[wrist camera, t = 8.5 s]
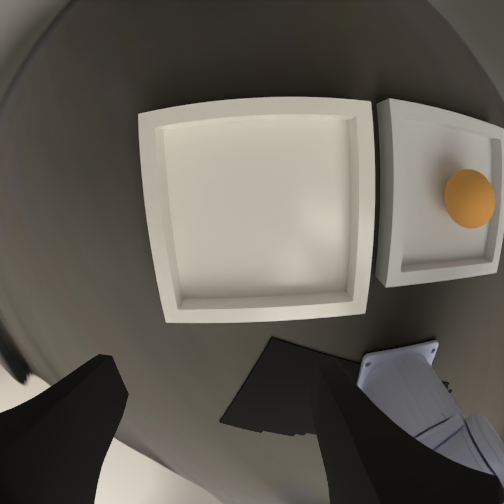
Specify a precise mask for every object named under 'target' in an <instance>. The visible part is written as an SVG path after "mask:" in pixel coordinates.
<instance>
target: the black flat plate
mask: <svg viewBox="0 0 504 504" xmlns="http://www.w3.org/2000/svg"><path fill="white" fill-rule="evenodd" d="M326 357H334V358H335V359H336V360H337V361H338V362H339V364H340V365H341V366H342V367H343V369H344V370H345V371H346V372H347V374H348V375H349V376H350V377H351V378H352V380H353V381H354V382H355V383H356V384H357V380H358V376H359V372H360V368H361V364H360V363H357V362H353V361H349V360H346V359H342V358H338V357H335V356H331V355H328V354H324V353H321V352H318V351H314V350H311V349H308V348H305V347H301V346H298V345H295V344H292V343H289V342H286V341H283V340H280V339H277V338H274V337H272V338H271V340H270V341H269V343H268V345H267V347H266V348H265V350H264V352H263V353H262V355H261V357H260V358H259V360H258V362H257V363H256V365H255V367H254V368H253V370H252V372H251V373H250V375H249V376H248V378H247V380H246V381H245V383H244V385H243V386H242V388H241V389H240V391H239V392H238V394H237V396H236V397H235V399H234V400H233V402H232V403H231V405H230V406H229V408H228V410H227V411H226V413H225V414H224V416H223V417H222V419H221V420H220V423H223V424H227V425H231V426H234V427H238V428H242V429H246V430H251V431H255V432H260V433H262V431H268V432H273V433H278V434H283V435H289V436H294V435H295V434H299V435H305V434H306V433H310V434H316V430H315V426H314V420H313V413H312V404H311V393H312V385H313V376H314V366H315V359H317V358H326ZM442 383H443V384H444V386H445V387H446V389H447V388H448V384H449V383H446V382H442ZM448 392H449V393H451V392H452V390H449V391H448Z"/></svg>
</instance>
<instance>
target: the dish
mask: <svg viewBox="0 0 504 504" xmlns="http://www.w3.org/2000/svg"><path fill="white" fill-rule="evenodd" d="M138 126H139V146H140V161H141V173H142V183H143V193H144V202H145V210H146V218H147V225H148V232H149V238H150V245H151V251H152V257H153V262H154V268H155V273H156V279H157V284H158V289H159V293H160V298H161V303H162V307H163V312H164V316H165V320H166V323H235V322H264V321H284V320H299V319H313V318H325V317H336V316H346V315H356V314H365V313H366V306H367V298H368V291H369V282H370V273H371V263H372V251H373V236H374V216H375V151H374V131H373V118H372V106H371V101H362V100H352V99H339V98H322V97H261V98H244V99H231V100H220V101H211V102H203V103H195V104H188V105H182V106H176V107H170V108H165V109H159V110H154V111H149V112H145V113H140V114H138Z"/></svg>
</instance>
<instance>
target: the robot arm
mask: <svg viewBox="0 0 504 504" xmlns="http://www.w3.org/2000/svg"><path fill="white" fill-rule="evenodd" d="M438 345H439V343H438V341H437V340H433V341H429V342H425V343H420V344H416V345H411V346H406V347H401V348H396V349H391V350H385V351H379V352H373V353H368V354H366V355H365V356H364V357H363V359H362V363H361V368H360V372H359V376H358V380H357V384H356V383H355V382H354V381H353V380H352V378H351V377H350V376H349V375H348V374H347V372H346V371H345V370H344V369H343V367H342V366H341V365H340V364H339V362H338V361H337V360H336V359H335V358H334V357H326V358H317V359H315V366H314V376H313V385H312V393H311V404H312V413H313V420H314V426H315V430H316V434H317V438H318V442H319V446H320V450H321V454H322V459H323V463H324V467H325V471H326V475H327V481H328V487H329V497H330V504H504V444H503V442H502V440H501V439H500V437H499V435H498V434H497V432H496V431H495V429H494V428H493V427H492V425H491V424H490V423H489V421H488V420H487V419H486V418H485V417H484V416H483V415H482V414H476V415H475V414H471V415H470V416H469V417H468V418H466V417H464V416H463V414H462V412H461V411H460V409H459V407H458V406H457V404H456V403H455V401H454V400H453V398H452V397H451V395H450V393H449V392H448V390H447V389H446V387H445V386H444V384H443V383H442V381H441V380H440V378H439V377H438V376H437V374H436V373H435V371H434V370H433V368H432V367H431V364H432V362H433V359H434V356H435V354H436V351H437V348H438ZM368 362H369V363H368ZM366 363H367V364H366ZM128 394H129V393H128V391H127V389H126V387H125V385H124V383H123V380H122V378H121V376H120V374H119V371H118V369H117V367H116V364H115V362H114V359H113V357H112V356H109V355H102V354H99V355H97V356H95V357H94V358H92V359H91V360H89V361H87V362H86V363H85V364H83V365H82V366H80V367H79V368H77V369H76V370H75V371H73V372H72V373H70V374H69V375H67V376H66V377H65V378H63V379H62V380H60V381H59V382H57V383H56V384H54V385H53V386H51V387H50V388H48V389H47V390H45V391H43V392H42V393H40V394H39V395H37V396H35V397H34V398H32V399H30V400H28V401H27V402H24V403H22V404H21V405H18V406H16V407H14V408H12V409H9V410H6V411H4V412H1V413H0V504H94V500H95V494H96V489H97V484H98V479H99V475H100V471H101V467H102V464H103V461H104V458H105V456H106V453H107V451H108V449H109V446H110V444H111V442H112V439H113V437H114V435H115V433H116V430H117V428H118V426H119V423H120V421H121V418H122V416H123V413H124V409H125V406H126V402H127V398H128Z"/></svg>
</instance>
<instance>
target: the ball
mask: <svg viewBox="0 0 504 504" xmlns="http://www.w3.org/2000/svg"><path fill="white" fill-rule="evenodd" d="M444 201H445V206H446V209H447V211H448V213H449V215H450V216H451V218H452V219H453V220H454V221H455V222H456V223H457V224H459V225H460V226H462V227H465V228H470V229H474V228H478V227H481V226H483V225H484V224H486V223H487V222H488V221H489V219H490V218H491V216H492V214H493V212H494V208H495V195H494V191H493V188H492V186H491V184H490V182H489V181H488V179H487V178H486V177H485V176H484V175H483V174H481V173H480V172H478V171H476V170H472V169H463V170H460V171H457V172H456V173H454V174H453V175H452V176H451V177H450V179H449V180H448V182H447V184H446V187H445V192H444Z"/></svg>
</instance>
